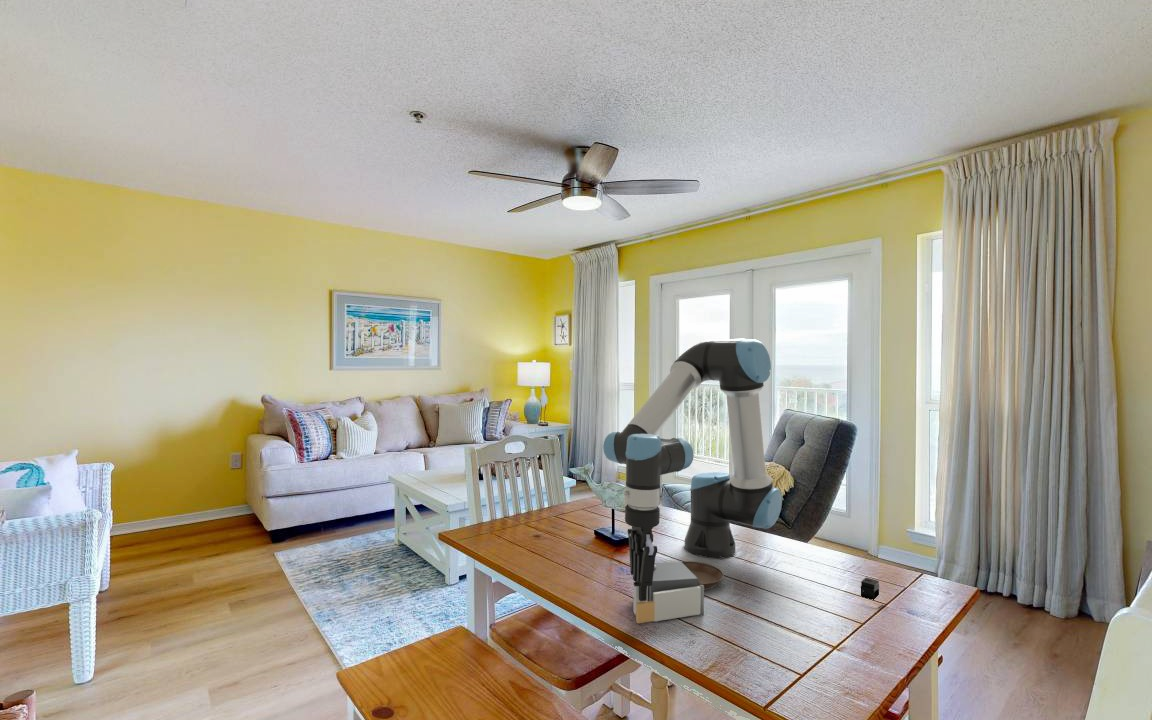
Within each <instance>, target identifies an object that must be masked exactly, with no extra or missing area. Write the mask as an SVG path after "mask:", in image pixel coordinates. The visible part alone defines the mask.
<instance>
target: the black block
mask: <svg viewBox="0 0 1152 720" xmlns="http://www.w3.org/2000/svg"><path fill="white" fill-rule="evenodd" d="M860 584H861V585H860V588H861V596H862V597H865V598H869V599H873V600H874V599H875V598H876V597H877V596H878V595H879V592H880V581H879V580H878V579H873V578H869V577H865V578H863V579H862V580H861V583H860Z"/></svg>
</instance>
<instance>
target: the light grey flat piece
mask: <svg viewBox="0 0 1152 720" xmlns="http://www.w3.org/2000/svg"><path fill="white" fill-rule="evenodd" d="M704 603H705V590H704V585H699V586H695V587H688V588H681V589H674V590H667V591H660V592H653V601H648V602H641V603H636V615H635V617H636V618H635V620H636V621H635V622H636V623H637V624H643V623H649V622H661V621H666V620H667V621H668V620H674V619H679V618H685V617H686V618H687V617H691V616H692V617H693V616H700V617H702V616H704V615H705V613H704V612H705V609H704V608H705V604H704Z"/></svg>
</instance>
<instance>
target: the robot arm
mask: <svg viewBox="0 0 1152 720" xmlns="http://www.w3.org/2000/svg"><path fill="white" fill-rule="evenodd" d="M771 369H772V364H771V358H770V354H769V351H768V350H767V348H766V346H765V345H764V344H763V342H761V341H759V340H757V339H753V338H752V339H749V338H747V339H746V338H734V339H733V338H731V339H730V338H729V339H708V340H703V341H700V342H698V343H696V344H695V345H693V346H691V347H690V348H687V350H685V351H684V352H683V353H682V354H681V355H679V357H678V358H677V359H676V360H674V362H673V363H672V365H671V366H670V368H669V372H670V373H669V374H667V376H666V377H665V378H664V380H663V381H662V382H661V383H660V385H659V386H658V387H657V388H656V390H655V391H654V392H653V393H652V394H651V396H650V397H649V398H648V399H647V400H646V402H645V403H644V404H643V405H642V407H641V408H640V409H639V410H638V412H637V413H636V414H635V415H634V416H633V418H632V419H631V420H630V421H629V423H628V424H627V425H626V426H625V427H624V429H623V430H622V431H616V432H610V433H608V434H607V436H606V437H605V438H604V441H603V445H602V449H603V454H604V456H605V458H606V459H607V460H609V461H611V462H614V463H618V464H620V465H625V467H626V468H625V470H626V471H625V473H626V474H625V490H624V491H623V495H624V496H625V504H626V506H625V507H624V508H625V510H624V521H625V523H626V525H628V526H631V528H628V529H627V536H628V546H629V547H628V549H629V565H630V566H629V567H630V569H629V570H630V571H629V572H630V575H631V576H632V580H633V613H634V615H635V616H636V603H641V602H647V601H648V586H652V581H653V573H654V564H655V563H656V556H657V554H658V546H657V545H653V542H654V534H653V528H655V527H657V526H658V525H659V524H660V513H661V509H660V507H659V506H660V504H661V476H663V475H667V474H671V473H676V472H681V471H683V470H686V469H687V468H689V467H690V466H692V464H693V461H694V456H695V455H694V449H693V447H692V445H691V443H690V442H689V441H688V440H686V439H684V438H682V437H680V438H679V437H678V438H676V437H672V438H667V439H666V438H661V437H660V435H658V434H659V433H660V432H661V430H662V429H663V427H664V426H665V425H666V424H667V422H668V421H669V420H670V419H671V417H672V416H673V415H674V413H675V412H676V411H677V409H678V408H679V407H680V405H681V404H682V403H683V401H684V400H685V399H686V398H687V396H688V395H689V394H690V392H691V391H692V390H695V389H697V388H699V387H700V385H701V384H702V383H704V382H706V381H719V390H720V391H721V392H722V393H724V395H726V404H727V406H726V407H727V414H728V424H729V433H730V444H731V454H732V455H731V457H732V466H733V474H732V476H731V475H730V473H727V472H721V471H720V472H713V471H712V472H705V473H704V472H703V473H697V474H695V475H694V476H692V478H691V481H690V482H691V483H690V523H689V525H688V529H687V532H686V534H685V538H684V549H685V550H686V551H687V552H688V553H691V554H693V555H695V556H699V557H703V558H709V557H710V558H711V559H723V558H722V557H724V558H729V557H732V556H734V555H735V554H736V542H735V538H734V536H733V535H734V534H733V533H732V529H731V525H730V523H731V522H734V523H739V524H742V525H747V526H751V527H753V528H761V529H767V530H768V529H770V528H772V527H773V526H774V525H775V524H776V522H777V521H778V519H779V517H780V513H781V511H782V506H783V494H782V492H781V490H780V489H779V488H777V487H774V486H773V479H772V477H771V476H770V475H769V474H767V471H766V462H765V461H766V459H765V452H764V439H763V438H764V437H763V429H762V428H763V427H762V417H761V416H762V415H761V408H760V407H761V406H760V393H759V392H760V391H762V390H763V388H764V386H765V385H764V383H765V382H766V381H768V379H769V377H770V376H771ZM734 553H735V554H734ZM733 554H734V555H733ZM731 555H732V556H731ZM728 556H729V557H728Z"/></svg>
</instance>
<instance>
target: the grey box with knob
mask: <svg viewBox="0 0 1152 720" xmlns="http://www.w3.org/2000/svg"><path fill="white" fill-rule="evenodd" d="M682 562H683V561H670V562H669V561H668V562H655V564H654V573H653V581H652V586H648V601H653V592H660V591H667V590H674V589H681V588H688V587H695V586H699V585H700V583H699V580H698V577H697V576H696V575H695V574H693V573H692V572H691V571H690V570H689V569H688V568H687V567H686V566H685V565H684V564H683V563H682ZM648 601H647V602H648Z"/></svg>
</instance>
